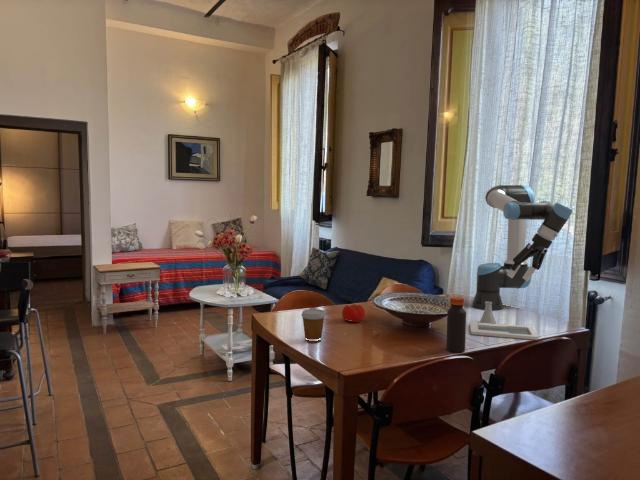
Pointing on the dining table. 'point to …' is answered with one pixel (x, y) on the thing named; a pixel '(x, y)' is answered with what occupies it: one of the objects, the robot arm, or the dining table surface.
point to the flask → (488, 314)
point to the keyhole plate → (503, 331)
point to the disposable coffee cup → (313, 324)
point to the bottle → (456, 326)
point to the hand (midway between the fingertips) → (517, 278)
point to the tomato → (353, 313)
